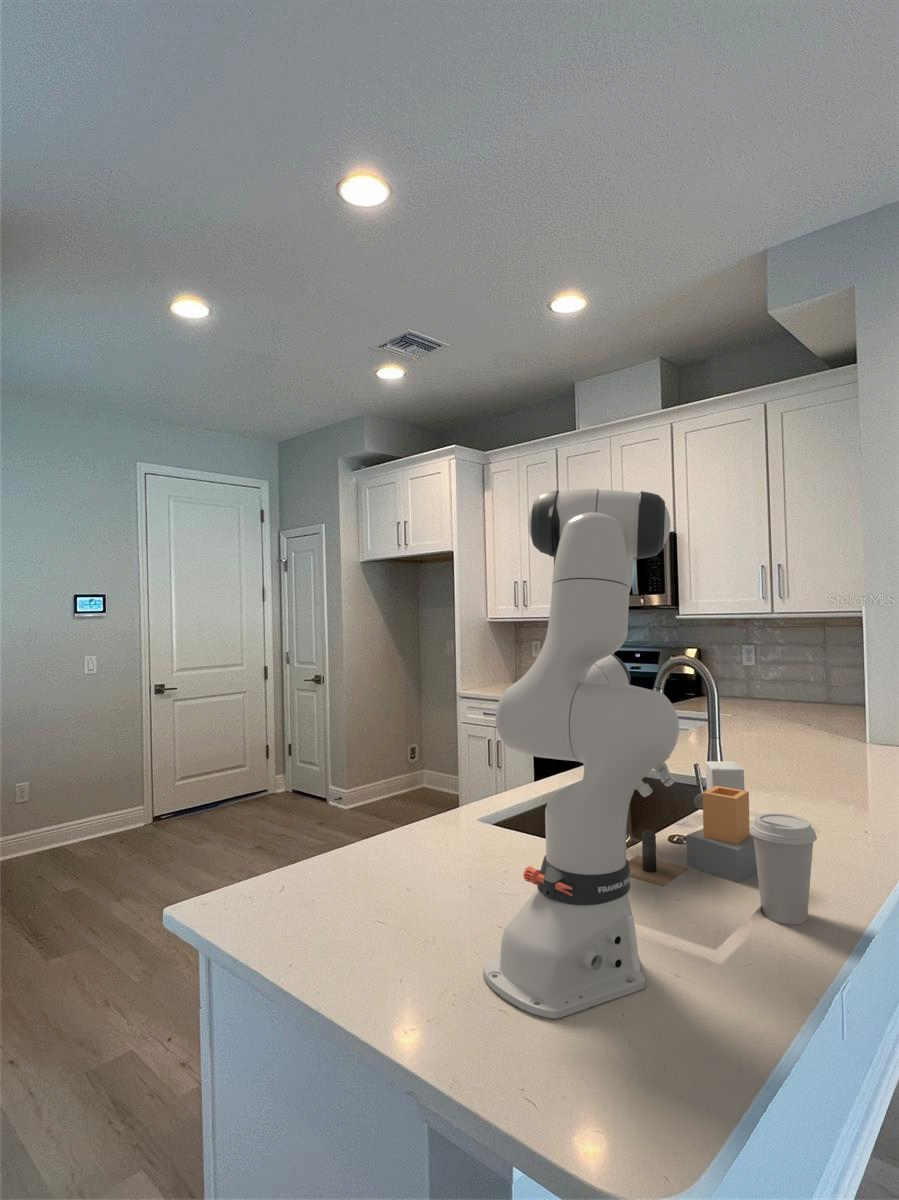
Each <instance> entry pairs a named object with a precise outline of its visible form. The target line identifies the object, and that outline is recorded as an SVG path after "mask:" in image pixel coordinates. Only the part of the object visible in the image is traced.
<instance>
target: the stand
mask: <svg viewBox="0 0 899 1200" xmlns="http://www.w3.org/2000/svg"><path fill="white" fill-rule="evenodd" d="M641 850H642V853H641V855H639V854H638V855H635V856H634V857H632V858H630V859H629V860H628V861H629V868H630V873H631V878H632V879H636V880H639V881H642V882H647V883H650V884H653V885H657V886H660V887H665V886H667V885H668V884H670V882H672V881H673V880H675V879H676V878H677V877H679V876H680V875H682V874H683V873H684V872H686V871H687V870H688V869H689V868H688V867H684V866H681V865H676V864H673V863H669V862H666V861H665V862H664V861H661V860H658V859H657V836H656V833H655V832H654V831H653V830H651V829H646V830H644V831H642V834H641Z"/></svg>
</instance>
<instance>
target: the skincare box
mask: <svg viewBox="0 0 899 1200" xmlns="http://www.w3.org/2000/svg"><path fill="white" fill-rule="evenodd" d="M704 766H705V767H704V768H705V783H706V784H705V785H706V791H707V790H709V789H711V788H713V787H714V786H721V787H727V788H733V789H738V790H744V791H746V789H745V771H744V770H745V769H744V768H743V767H742V766H740V765H739V763H738V762H737V761H734V760H731V761H727V760H725V761H718V760H717V761H714V760H713V761H712V760H711V761H710V760H709V761H707V760H706V761H705V765H704Z"/></svg>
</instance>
